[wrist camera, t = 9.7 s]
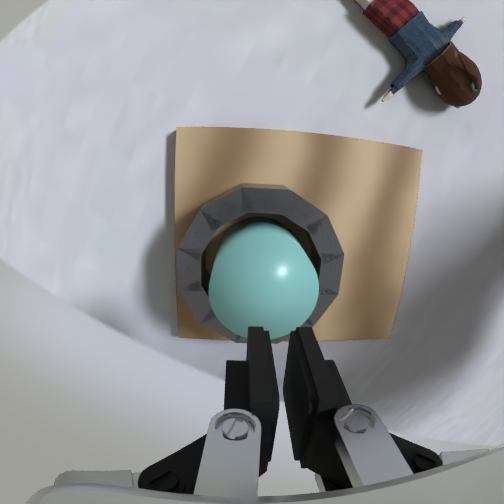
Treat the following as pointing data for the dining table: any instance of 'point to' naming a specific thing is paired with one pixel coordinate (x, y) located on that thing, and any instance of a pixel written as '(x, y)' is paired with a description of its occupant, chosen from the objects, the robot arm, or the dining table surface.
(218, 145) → the board
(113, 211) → the dining table surface
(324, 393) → the robot arm
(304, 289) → the teal rounded tetrahedron
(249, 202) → the faceted gray ring
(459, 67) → the toy
